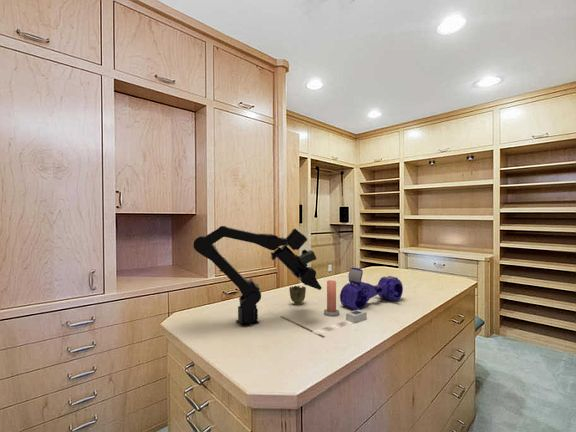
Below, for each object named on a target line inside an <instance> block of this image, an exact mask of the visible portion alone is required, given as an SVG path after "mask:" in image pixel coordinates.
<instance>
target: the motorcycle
mask: <svg viewBox="0 0 576 432" xmlns="http://www.w3.org/2000/svg"><path fill="white" fill-rule="evenodd" d="M363 273H364V271H363V269H361V268H359V267H351V268H350V269H349V272H348V276H347V277H348V283H346V284H345V285H344V286H342V288H341V290H340V294H339V301H340V303H341V305H342V306H343V308H348V309H349V310H352V311H355V310H362V309H364V308H365V307H366V306H367V303H368V302H369V301H370V300H371V299H372V298H374V297H376V296H378V297H379V298H381V299H382V300H387V301H390V302H394V301H395V302H398V301H399V300H401V298H402V296H403V292H404V291H403V290H404V286H403V282H402V281H401V280H400V279H399V278H398V277H395V276H391V275H388V276H382V277H380V279H379V281H378V282H377V284H375V285H373V284H370V283H368V282H364V281H362V278H363ZM395 302H394V303H395Z"/></svg>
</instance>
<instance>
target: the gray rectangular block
mask: <svg viewBox="0 0 576 432" xmlns="http://www.w3.org/2000/svg"><path fill="white" fill-rule="evenodd" d="M367 313H368V312H367V311H364V310H362V309H360V310H352V311H349V312H346V313H345V321H350V322H353V323H352V324H356V323H359V322H362V321H366V320H367V319H368V314H367Z"/></svg>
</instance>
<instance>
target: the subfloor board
mask: <svg viewBox="0 0 576 432" xmlns="http://www.w3.org/2000/svg"><path fill="white" fill-rule="evenodd" d="M280 318H281V319H283V320H285V321H288V322H290V323H292V324H294V325H295V326H298V327H300V328H302V329H305V330H306V331H309V332H310V333H312V334H314V335H316V336H318V337H321V338H322V339H323V338H326V336H324V334H325V333H328V332H330V331H331V332H332V331H333V330H336V329H340V328H343V327H346V326H348V325H351V324H354V323H353V322H350V321H347V320H344V321H341V322H338V323H335V324H331V325H329V326H325V327H322V328H319V329H316V330H312V329H310V328H308V327H306V326H303V325H301V324H299V323H297V322H295V321H293V320H291V319H289V318H288V317H287V318H286V317H285V316H283V315H281V316H280Z"/></svg>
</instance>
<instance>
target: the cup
mask: <svg viewBox="0 0 576 432" xmlns="http://www.w3.org/2000/svg"><path fill="white" fill-rule="evenodd" d="M288 289H289V296H290V300H291V301H292V302H293V305H296V306H300V305H302V303H303V302H304V301H305V298H306V293H307V292H306V291H307V288H306V286H304V285H302V286H301V287H300V285H294V286H293V285H292V286H289V287H288Z"/></svg>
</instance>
